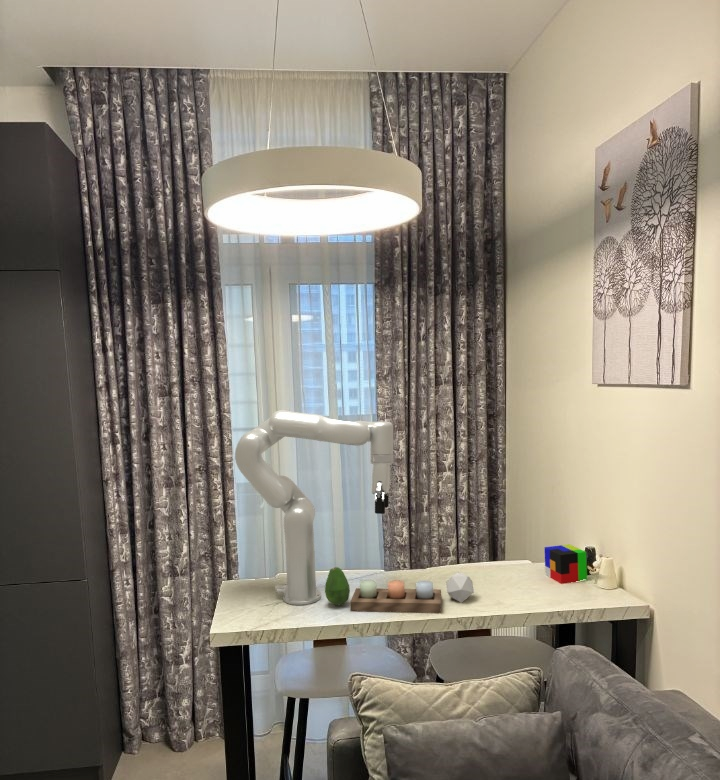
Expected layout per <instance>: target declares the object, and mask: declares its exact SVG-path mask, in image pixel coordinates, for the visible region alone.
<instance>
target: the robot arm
mask: <svg viewBox="0 0 720 780" xmlns="http://www.w3.org/2000/svg"><path fill="white" fill-rule="evenodd" d="M285 437H287V438H295V439H305V440H311V441H312V440H313V441H319V442H327V443H331V444H337V445H338V444H340V445H348V446H364V445H365V444H367V443H369V442H370V464H372V476H371V478H372V479H371V494H373V495H375V499H374V514H377V515H378V514H381V515H384V514H385V513H386V511H385V510H386V508H388V507H389V498H390V497H389V491H390V485H391V484H390V482H391V480H390V479H391V465H393V464H394V424H393V423H392V422H390V421H383V420H382V421H380V420H379V421H364V420H355V421H346V420H345V421H344V420H339V419H333V418H329V417H326V416H324V415H321V414H316V413H307V412H306V413H305V412H297V411H290V409H289V410H288V409H280V410H276V411H274V412H273V413H271V415H270V416H269V418H267V419H266V420H265V421H263V422H262V423H260V424H259V425H257V426H256V427H255V428H253V429H251V430H250V431H247V432H245V433H244V434H243V435H241V437H240V438H239V440H238V442H237V444H236V447H235V452H234V461H235V464H236V467H237V468H238V470H239V472H240V473H241V474H242V475H243V477H245V479H246V480H247V481H248V482H249V484H250V485H251V486H252V487H253V488H254V489H255V491H256V492H257V493H258V494H259V496H261V497H262V499H263V500H264V501H265V502H266V503H267V504H268V506H270V507H272V508H275V509H280V510H281V511H282V512H283V513H284V517H283V531H284V533H283V534H284V540H285V541H284V542H285V543H284V545H285V560H286V562H285V563H286V566H285V567H286V584H284V585H283V584H282V585H281V584H276V585H275V592H276V593H277V594H282V593H283V595H282V601H283V602H284V603H286V604H289V605H293V606H304V605H309V604H310V605H311V604H313V603H314V604H315V603H316V602H318V601H319V600H320V599H321V597H322V593H321V591H320V590H317V579H316V578H317V577H316V554H315V553H316V551H315V537H314V535H315V534H314V519H315V516H316V507H315V506H314V503H313V502H312V501H311V500H310V499H309V497H307V495H306V494H305V493H304V492H303V491H302V490H301V489H300V488H299V487H298V485H297V484H296V483H295V482H294V481H293V480H292V479H291V478H289V477H288V476H285V475H280V474H279V475H278V474H277V472H276V471H275V470H274V469H273V468H272V467H271V465H270V464H268V463H267V462H266V461H265V459H264V458H263V455H262V454H263V453H264V452H266V451H267V450H268V449H270V448H271V447H272V446H274V445H275V444H277V443H278V442H279V441H281V440H282V439H284V438H285Z"/></svg>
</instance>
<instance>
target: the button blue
mask: <svg viewBox="0 0 720 780" xmlns="http://www.w3.org/2000/svg"><path fill="white" fill-rule="evenodd" d="M415 586H416V588H415V589H417V597H418V598H420V599H430V598H432V597H433V589H434V583H433V582H432V581H430V580H419V581H417V582H416V584H415Z"/></svg>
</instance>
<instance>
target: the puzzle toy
mask: <svg viewBox="0 0 720 780" xmlns="http://www.w3.org/2000/svg"><path fill="white" fill-rule="evenodd" d="M543 549H544V571H545V572H544V574H545V576H547V577H548V578H550V579H552V580H553V581H555V582H557V583H559V584H561V585H564V584H572V583H571V582H573V583H577V582H576V581H580V580H583V579H587V580H588V571H587V569H588V567H587V565H588V563H587V551H585V550H582V549H581V548H578V547H576V546H574V545H572V544H561V545H554V546H552V545H551V546H545V547H544V548H543Z"/></svg>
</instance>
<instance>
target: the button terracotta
mask: <svg viewBox="0 0 720 780" xmlns="http://www.w3.org/2000/svg"><path fill="white" fill-rule="evenodd" d="M387 589H388V596H389V597H390V598H395V599H398V598H403V597H404V596H405V589H406V588H405V582H404V581H403V580H398V579H396V580H390V581H388V582H387Z"/></svg>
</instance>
